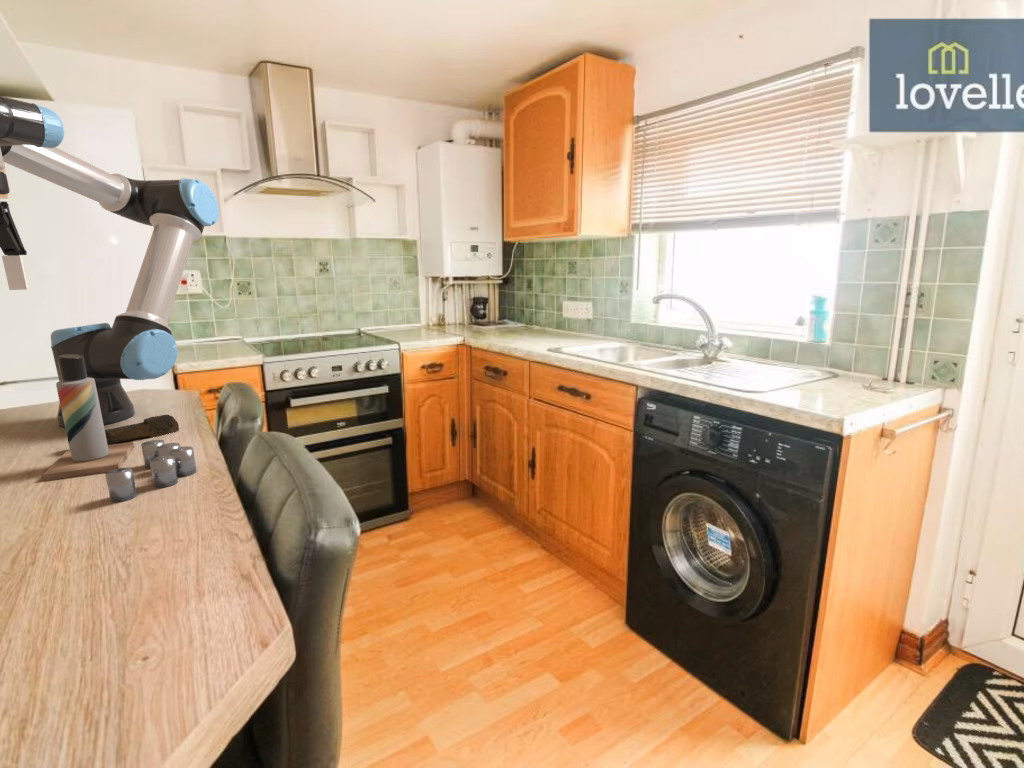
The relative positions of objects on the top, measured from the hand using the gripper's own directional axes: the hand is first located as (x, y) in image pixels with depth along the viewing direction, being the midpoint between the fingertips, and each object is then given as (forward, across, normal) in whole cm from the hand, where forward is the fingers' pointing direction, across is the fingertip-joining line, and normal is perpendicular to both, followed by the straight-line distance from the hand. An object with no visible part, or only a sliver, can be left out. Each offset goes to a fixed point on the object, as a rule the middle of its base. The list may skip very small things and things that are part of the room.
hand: (4, 291), depth 100 cm
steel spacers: (+33, +22, +23) cm, 46 cm away
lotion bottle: (+32, +8, +10) cm, 34 cm away
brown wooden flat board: (+33, +8, +10) cm, 35 cm away
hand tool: (+33, -5, +13) cm, 36 cm away
